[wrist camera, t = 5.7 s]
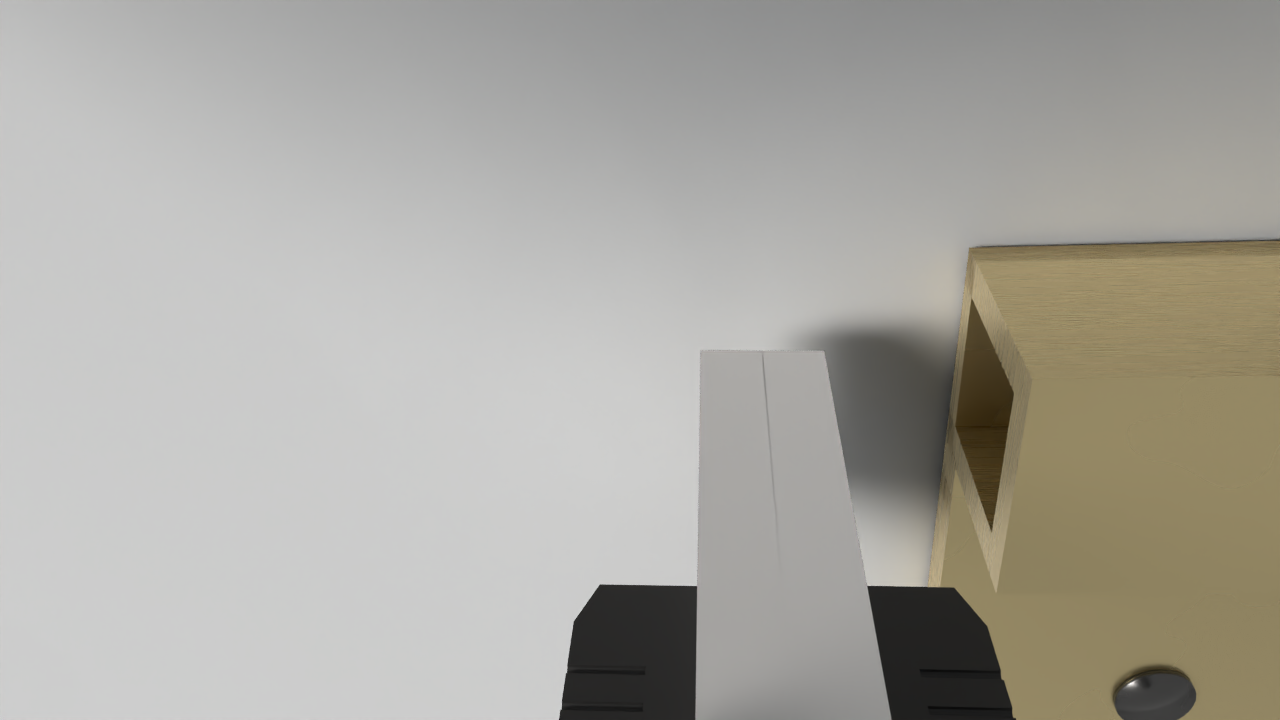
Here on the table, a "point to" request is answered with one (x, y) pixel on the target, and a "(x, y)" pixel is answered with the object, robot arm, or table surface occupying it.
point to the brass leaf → (1119, 477)
